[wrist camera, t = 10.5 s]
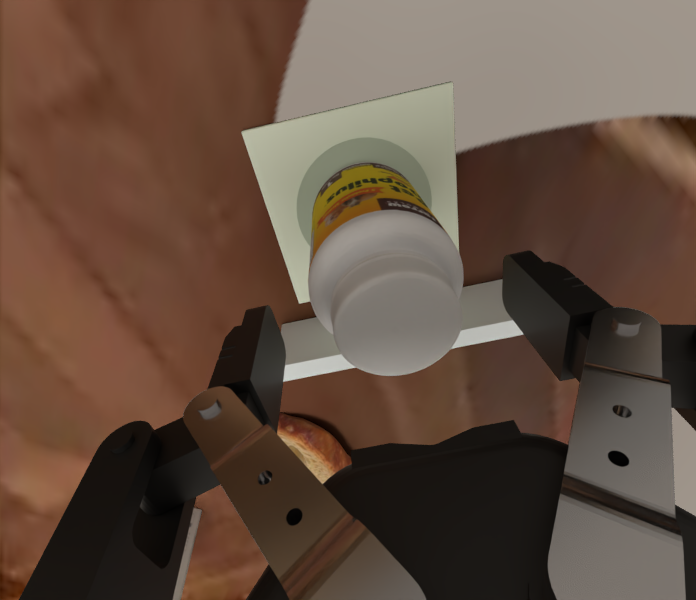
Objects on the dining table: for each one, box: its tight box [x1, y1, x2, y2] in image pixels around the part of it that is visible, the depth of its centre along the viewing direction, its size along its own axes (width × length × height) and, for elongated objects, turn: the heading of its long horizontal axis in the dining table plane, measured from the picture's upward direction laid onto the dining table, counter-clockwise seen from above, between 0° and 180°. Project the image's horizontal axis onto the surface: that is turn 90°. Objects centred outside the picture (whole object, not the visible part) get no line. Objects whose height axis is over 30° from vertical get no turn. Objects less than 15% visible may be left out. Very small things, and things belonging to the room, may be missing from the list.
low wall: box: [281, 279, 524, 382], centre depth 22 cm, size 1×16×4 cm, turn 101°
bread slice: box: [277, 412, 352, 484], centre depth 33 cm, size 18×18×4 cm
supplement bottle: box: [308, 162, 464, 376], centre depth 15 cm, size 6×6×10 cm
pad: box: [242, 82, 459, 304], centre depth 20 cm, size 10×10×1 cm
